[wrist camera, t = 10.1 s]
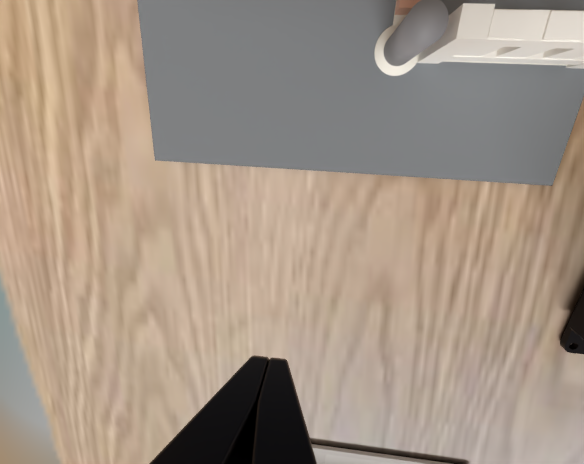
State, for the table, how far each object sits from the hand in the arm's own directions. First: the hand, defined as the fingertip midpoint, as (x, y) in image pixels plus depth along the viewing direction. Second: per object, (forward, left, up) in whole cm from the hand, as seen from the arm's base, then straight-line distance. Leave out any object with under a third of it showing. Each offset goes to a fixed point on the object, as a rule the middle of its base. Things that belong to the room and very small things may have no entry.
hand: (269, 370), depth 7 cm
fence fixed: (-9, -9, -12) cm, 17 cm away
